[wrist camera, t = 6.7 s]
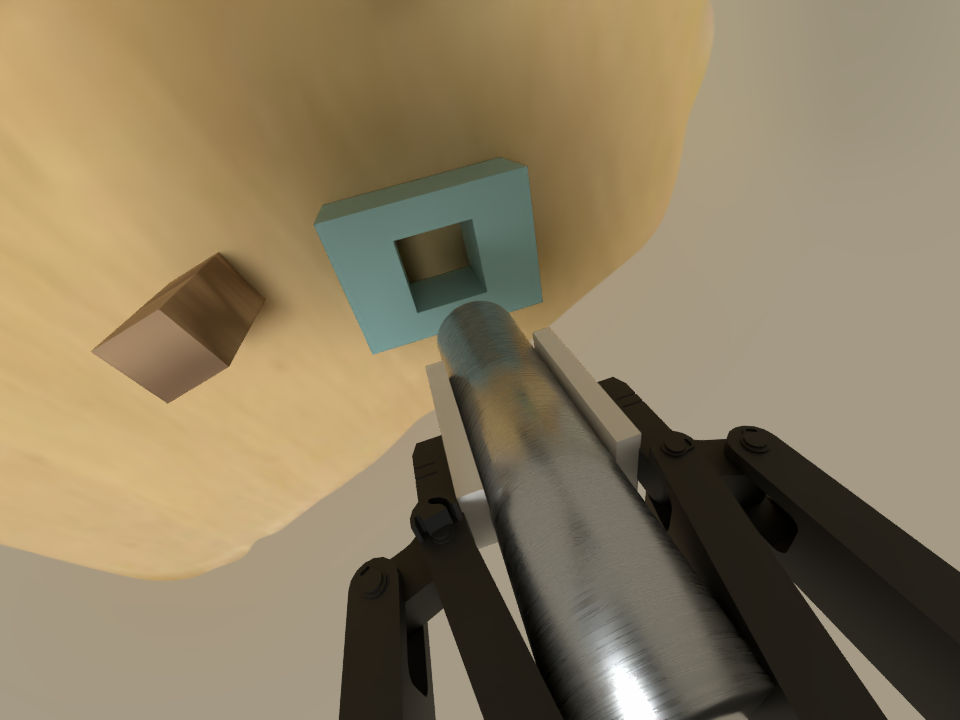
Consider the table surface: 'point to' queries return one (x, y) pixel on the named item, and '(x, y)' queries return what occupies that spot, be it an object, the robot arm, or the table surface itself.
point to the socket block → (424, 207)
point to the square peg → (185, 330)
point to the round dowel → (588, 547)
